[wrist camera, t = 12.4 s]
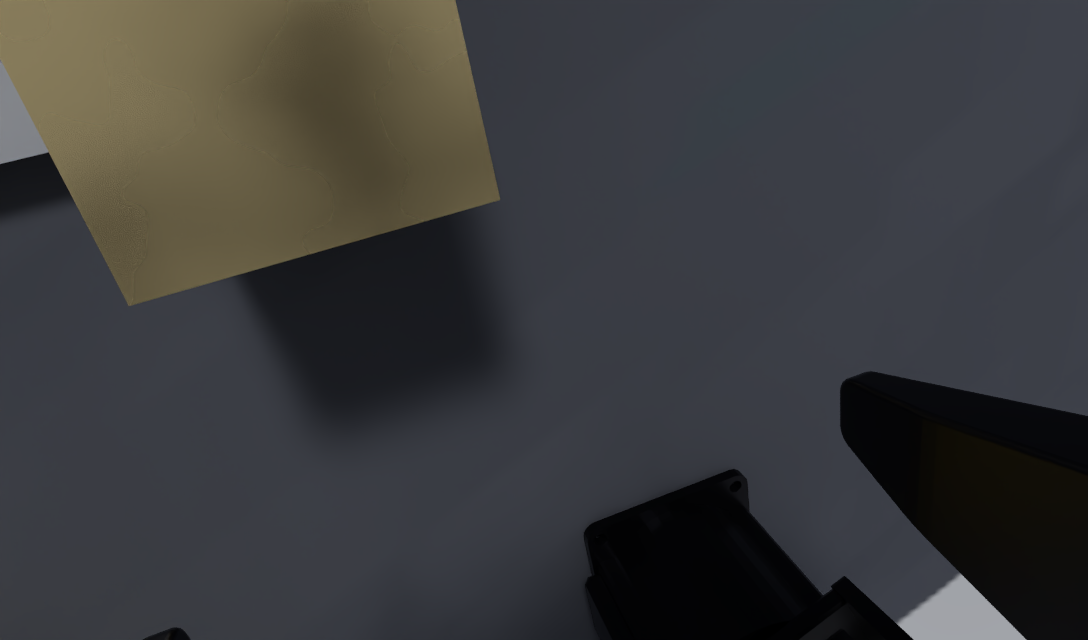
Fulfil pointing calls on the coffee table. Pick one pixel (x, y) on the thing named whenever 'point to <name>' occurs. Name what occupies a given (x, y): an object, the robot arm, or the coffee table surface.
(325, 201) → the brushed brass cube
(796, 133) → the coffee table surface
